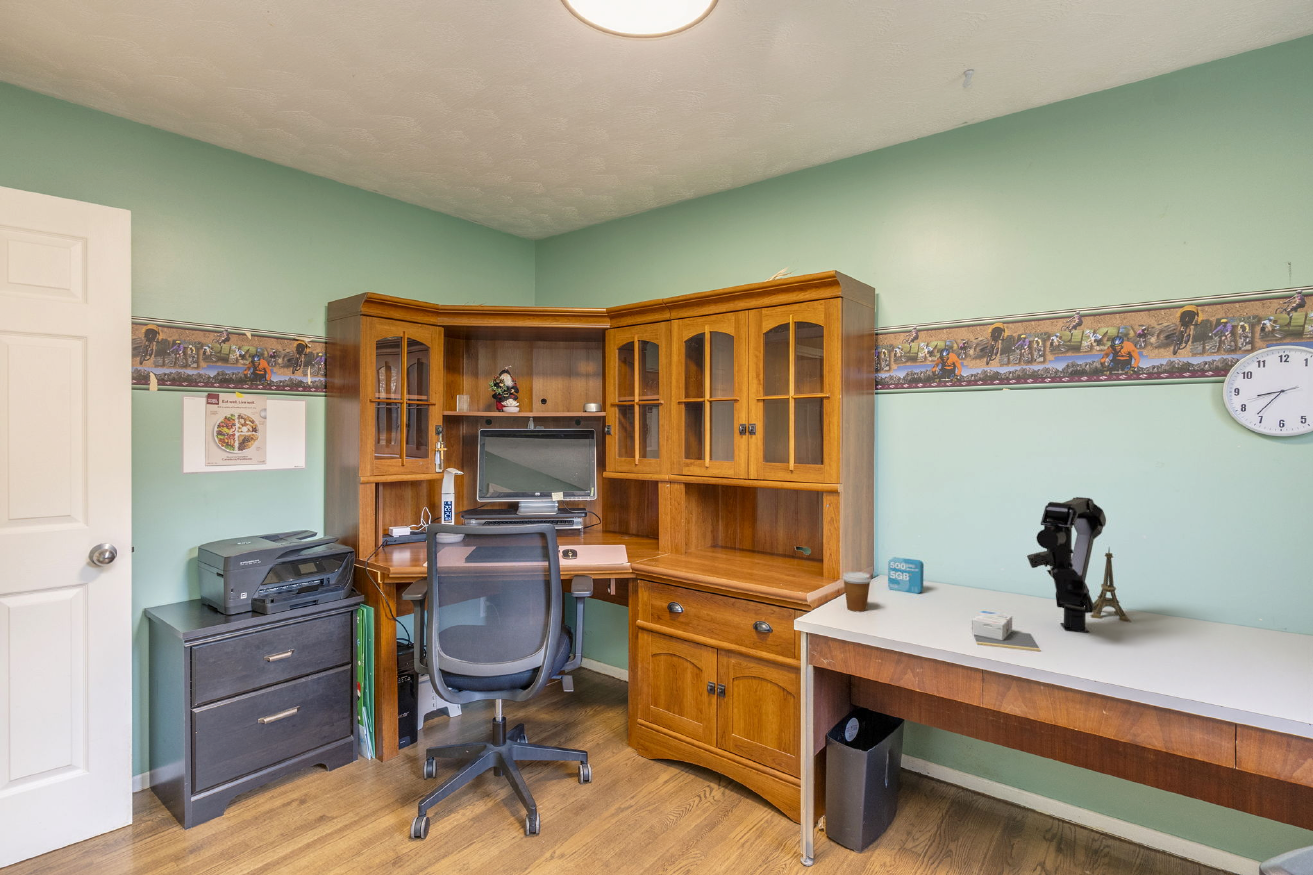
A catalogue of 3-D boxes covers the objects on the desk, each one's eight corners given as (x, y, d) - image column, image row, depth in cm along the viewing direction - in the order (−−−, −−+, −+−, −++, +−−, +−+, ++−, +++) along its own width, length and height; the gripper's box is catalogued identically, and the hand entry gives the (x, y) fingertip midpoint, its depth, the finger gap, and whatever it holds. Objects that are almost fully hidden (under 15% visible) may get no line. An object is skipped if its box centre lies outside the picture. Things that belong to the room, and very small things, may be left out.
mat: (971, 628, 201) (971, 627, 201) (1030, 634, 195) (1030, 633, 195) (977, 644, 187) (977, 642, 187) (1040, 651, 181) (1040, 649, 181)
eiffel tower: (1086, 609, 222) (1087, 537, 221) (1123, 613, 217) (1125, 539, 217) (1091, 617, 212) (1092, 542, 212) (1130, 622, 208) (1132, 545, 207)
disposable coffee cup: (851, 614, 216) (851, 578, 216) (837, 606, 226) (837, 572, 225) (876, 612, 219) (877, 577, 218) (861, 604, 228) (861, 570, 228)
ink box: (982, 626, 203) (971, 634, 194) (982, 610, 203) (971, 618, 194) (1012, 631, 197) (1002, 641, 188) (1012, 615, 197) (1003, 624, 188)
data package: (887, 589, 248) (888, 558, 248) (891, 587, 252) (891, 556, 251) (920, 594, 241) (920, 562, 241) (923, 591, 245) (923, 560, 244)
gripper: (1025, 537, 204) (1025, 586, 204) (1033, 548, 187) (1032, 601, 187) (1066, 539, 199) (1066, 589, 200) (1078, 551, 182) (1077, 605, 183)
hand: (1059, 596), depth 193 cm, fingers closed
